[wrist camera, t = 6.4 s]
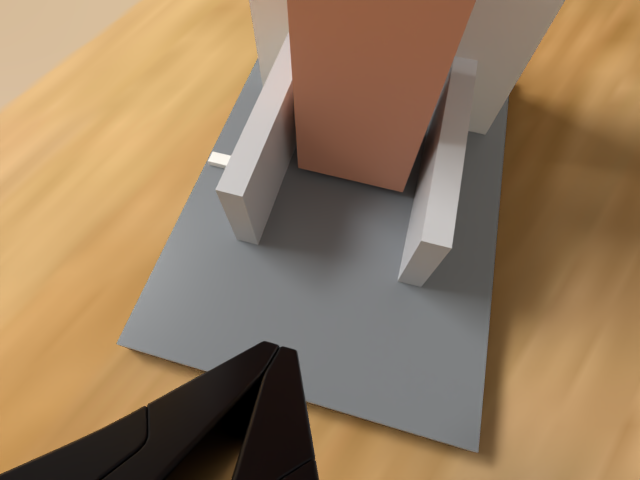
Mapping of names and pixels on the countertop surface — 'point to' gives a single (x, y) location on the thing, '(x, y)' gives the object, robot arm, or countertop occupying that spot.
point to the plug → (369, 82)
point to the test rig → (350, 243)
